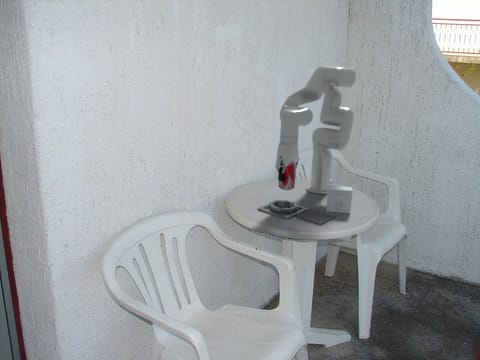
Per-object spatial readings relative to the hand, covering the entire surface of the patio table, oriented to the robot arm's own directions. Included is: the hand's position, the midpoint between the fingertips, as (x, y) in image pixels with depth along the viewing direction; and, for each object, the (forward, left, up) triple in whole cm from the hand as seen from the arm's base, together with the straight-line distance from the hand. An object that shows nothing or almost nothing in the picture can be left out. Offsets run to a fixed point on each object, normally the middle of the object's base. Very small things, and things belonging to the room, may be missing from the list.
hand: (286, 178), depth 199 cm
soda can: (0, 0, -5) cm, 5 cm away
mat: (-2, +15, -14) cm, 21 cm away
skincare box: (-17, +17, -14) cm, 28 cm away
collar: (+1, 0, -14) cm, 14 cm away
